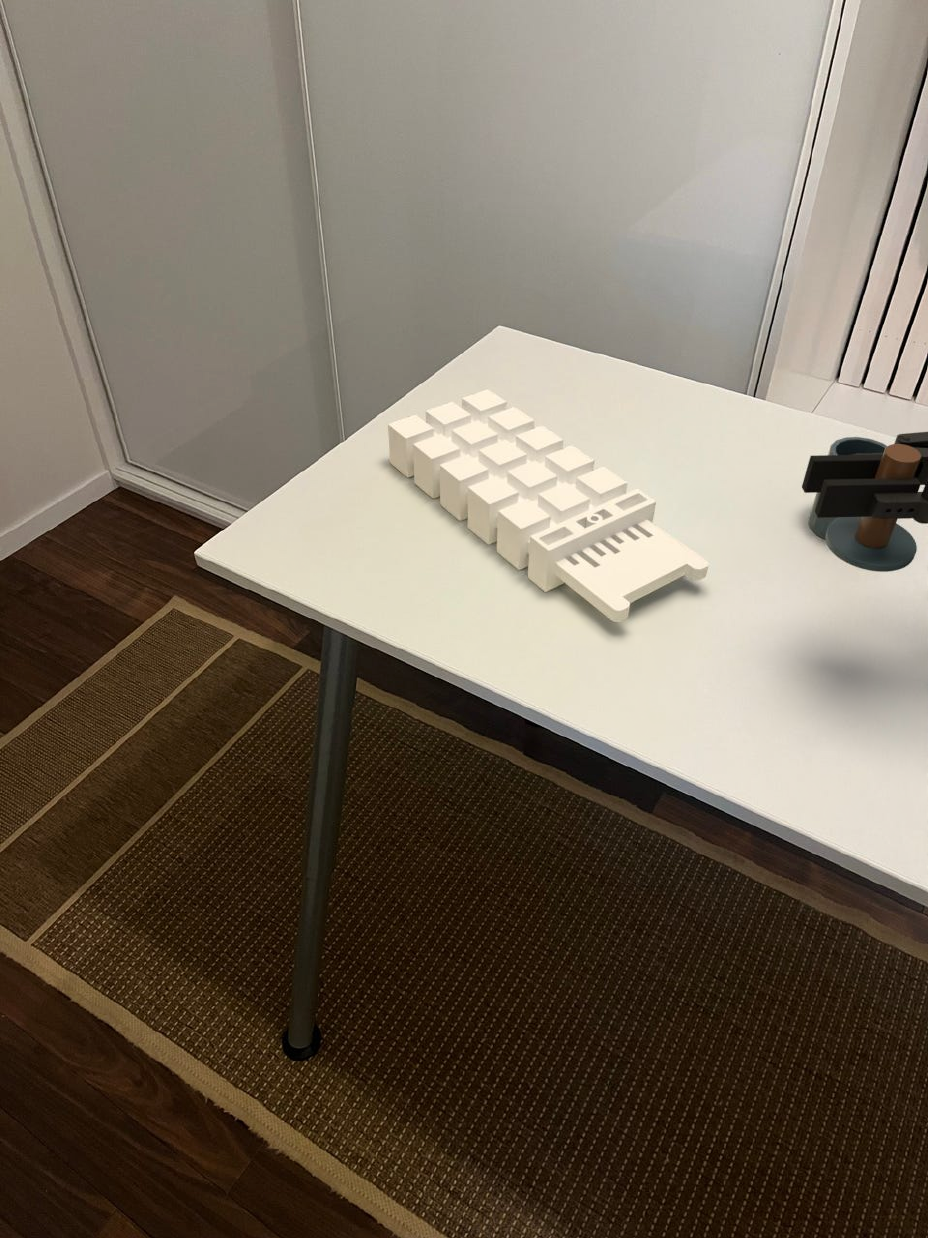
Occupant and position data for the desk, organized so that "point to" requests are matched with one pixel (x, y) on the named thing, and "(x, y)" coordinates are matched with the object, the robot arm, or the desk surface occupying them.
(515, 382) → the desk surface
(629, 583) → the organizer
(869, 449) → the tin
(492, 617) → the desk surface
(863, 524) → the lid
